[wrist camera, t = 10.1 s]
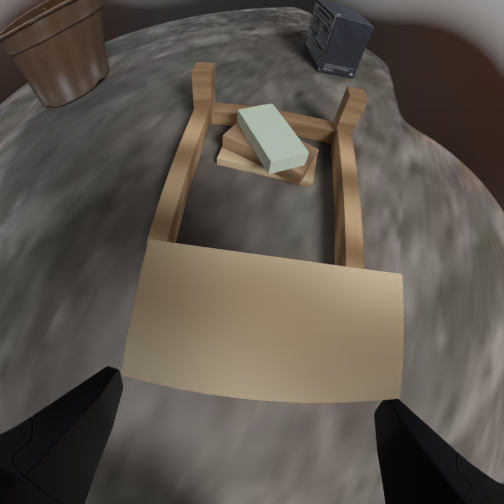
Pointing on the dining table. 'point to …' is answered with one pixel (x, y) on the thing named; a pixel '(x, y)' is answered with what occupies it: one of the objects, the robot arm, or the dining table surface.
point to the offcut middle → (241, 146)
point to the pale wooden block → (265, 327)
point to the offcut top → (272, 138)
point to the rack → (304, 127)
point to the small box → (337, 38)
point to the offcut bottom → (257, 166)
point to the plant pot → (59, 49)
